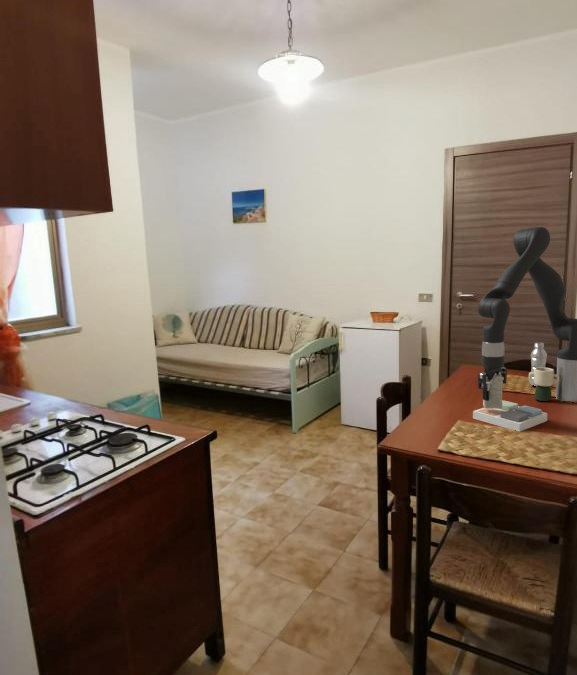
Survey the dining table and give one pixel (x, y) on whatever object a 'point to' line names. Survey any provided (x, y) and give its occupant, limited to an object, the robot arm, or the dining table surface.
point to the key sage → (508, 405)
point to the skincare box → (494, 394)
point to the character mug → (543, 382)
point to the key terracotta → (491, 411)
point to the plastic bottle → (537, 359)
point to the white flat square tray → (508, 423)
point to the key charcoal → (514, 416)
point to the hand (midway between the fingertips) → (492, 398)
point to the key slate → (529, 410)
